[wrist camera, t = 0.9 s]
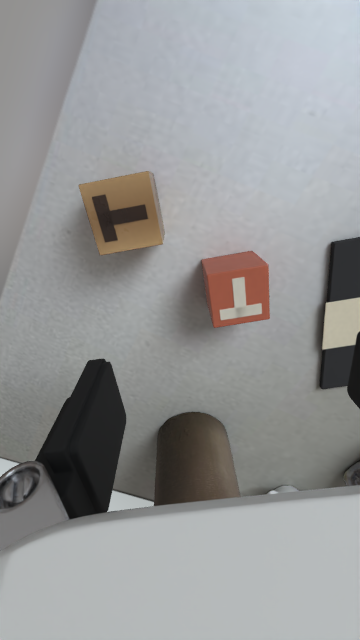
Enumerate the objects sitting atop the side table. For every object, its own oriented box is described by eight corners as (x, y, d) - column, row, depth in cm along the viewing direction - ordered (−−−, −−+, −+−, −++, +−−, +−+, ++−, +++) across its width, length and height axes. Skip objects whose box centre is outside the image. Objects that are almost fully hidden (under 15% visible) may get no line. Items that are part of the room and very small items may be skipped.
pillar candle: (159, 409, 35) (150, 548, 22) (233, 413, 36) (269, 551, 22) (156, 458, 39) (146, 600, 26) (221, 461, 40) (245, 601, 27)
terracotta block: (201, 259, 26) (206, 275, 22) (252, 250, 26) (269, 264, 21) (207, 305, 29) (213, 328, 24) (254, 297, 28) (270, 319, 24)
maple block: (96, 184, 23) (77, 184, 19) (153, 173, 23) (148, 170, 18) (112, 243, 25) (99, 255, 21) (164, 233, 25) (162, 244, 21)
